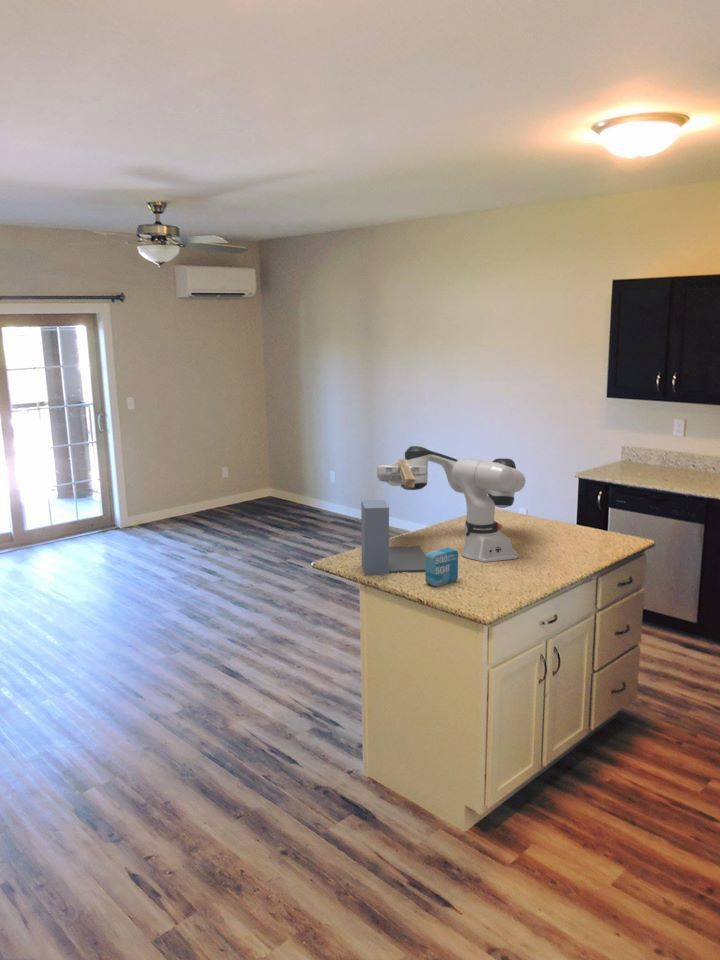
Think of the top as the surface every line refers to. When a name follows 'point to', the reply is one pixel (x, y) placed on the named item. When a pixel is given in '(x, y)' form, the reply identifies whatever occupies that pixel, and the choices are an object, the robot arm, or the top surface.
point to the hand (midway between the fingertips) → (404, 468)
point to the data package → (441, 566)
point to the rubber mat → (406, 559)
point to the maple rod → (406, 473)
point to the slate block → (375, 537)
